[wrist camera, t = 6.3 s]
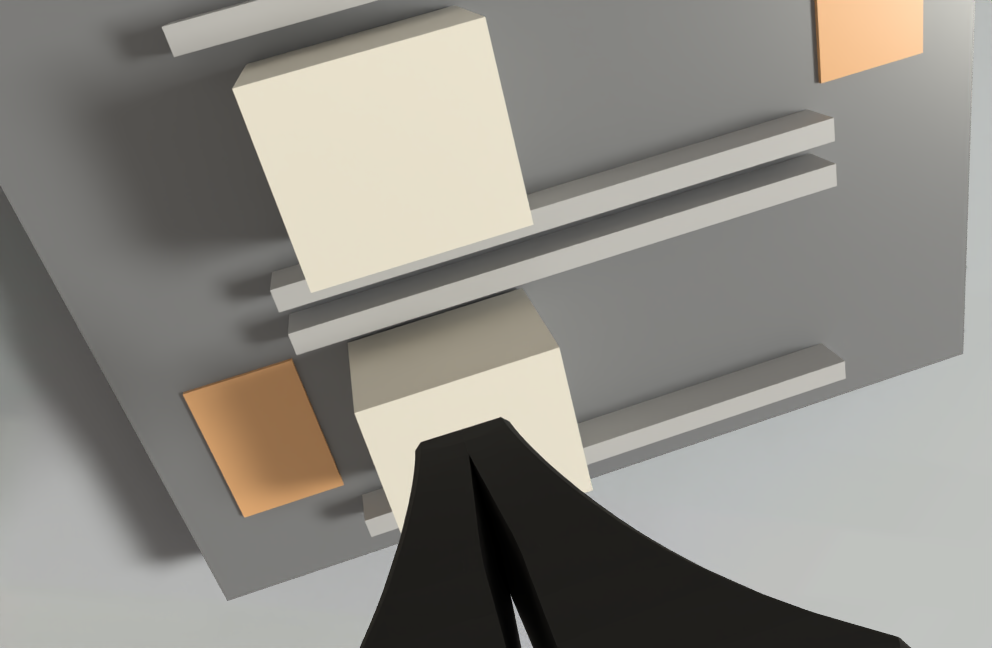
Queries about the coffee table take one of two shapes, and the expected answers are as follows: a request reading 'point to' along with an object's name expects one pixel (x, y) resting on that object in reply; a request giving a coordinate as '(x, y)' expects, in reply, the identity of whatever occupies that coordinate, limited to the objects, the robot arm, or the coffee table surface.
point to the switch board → (504, 258)
